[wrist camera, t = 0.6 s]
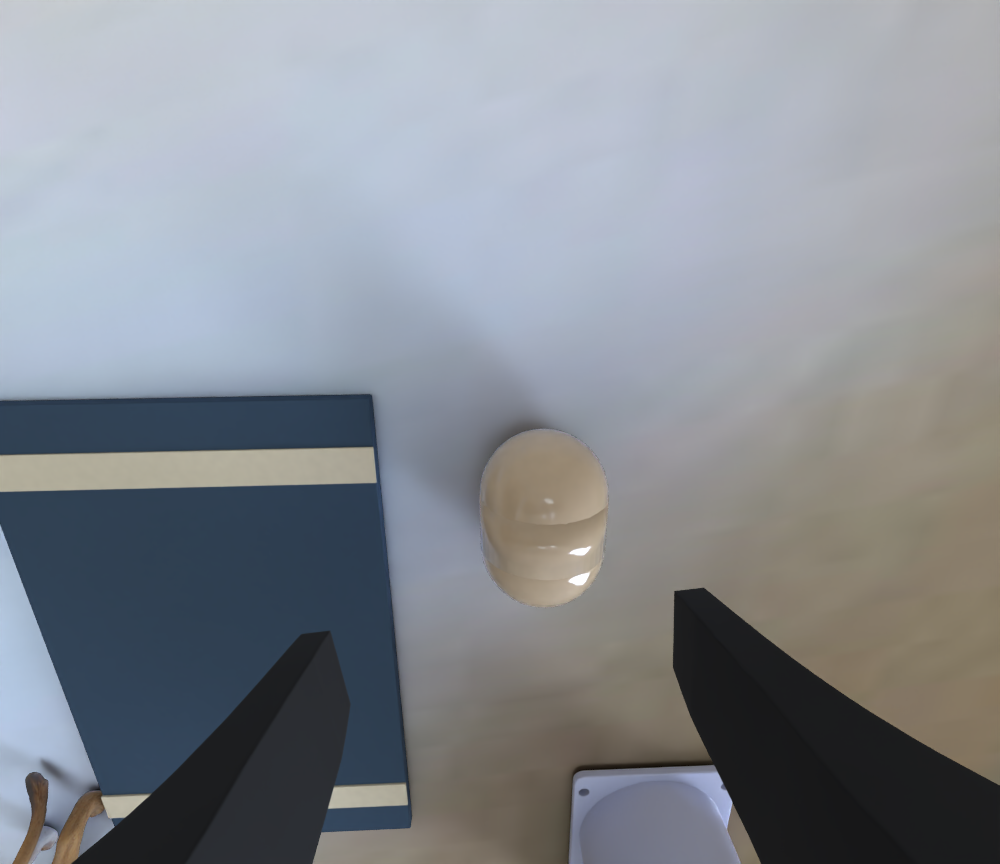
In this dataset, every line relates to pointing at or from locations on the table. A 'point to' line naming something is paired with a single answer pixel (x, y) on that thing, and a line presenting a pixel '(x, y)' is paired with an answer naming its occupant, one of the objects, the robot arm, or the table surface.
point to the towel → (205, 575)
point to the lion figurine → (47, 836)
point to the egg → (543, 517)
